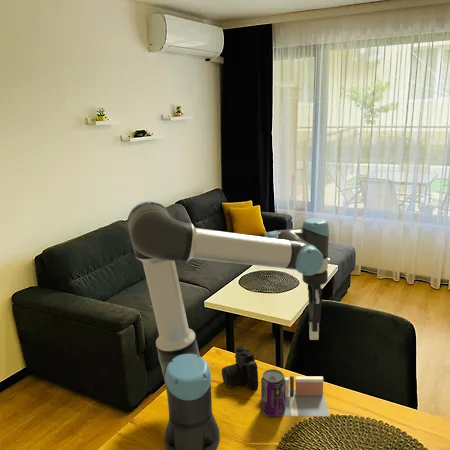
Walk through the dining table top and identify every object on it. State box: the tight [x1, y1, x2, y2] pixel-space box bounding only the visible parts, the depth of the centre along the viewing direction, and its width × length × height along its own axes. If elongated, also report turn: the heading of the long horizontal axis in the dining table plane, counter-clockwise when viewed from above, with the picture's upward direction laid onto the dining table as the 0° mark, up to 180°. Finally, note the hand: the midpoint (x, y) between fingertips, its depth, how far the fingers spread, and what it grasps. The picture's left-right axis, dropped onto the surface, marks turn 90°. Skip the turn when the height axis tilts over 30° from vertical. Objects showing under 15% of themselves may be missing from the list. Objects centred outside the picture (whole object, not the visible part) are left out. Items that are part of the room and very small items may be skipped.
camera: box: [221, 345, 259, 392], centre depth 144 cm, size 14×11×10 cm
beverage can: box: [260, 368, 285, 417], centre depth 128 cm, size 7×7×12 cm
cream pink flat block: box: [294, 375, 324, 396], centre depth 135 cm, size 8×2×6 cm, turn 87°
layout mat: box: [263, 389, 330, 417], centre depth 133 cm, size 19×12×1 cm, turn 87°
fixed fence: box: [284, 375, 295, 396], centre depth 136 cm, size 9×2×6 cm, turn 87°
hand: (313, 338), depth 138 cm, fingers closed
